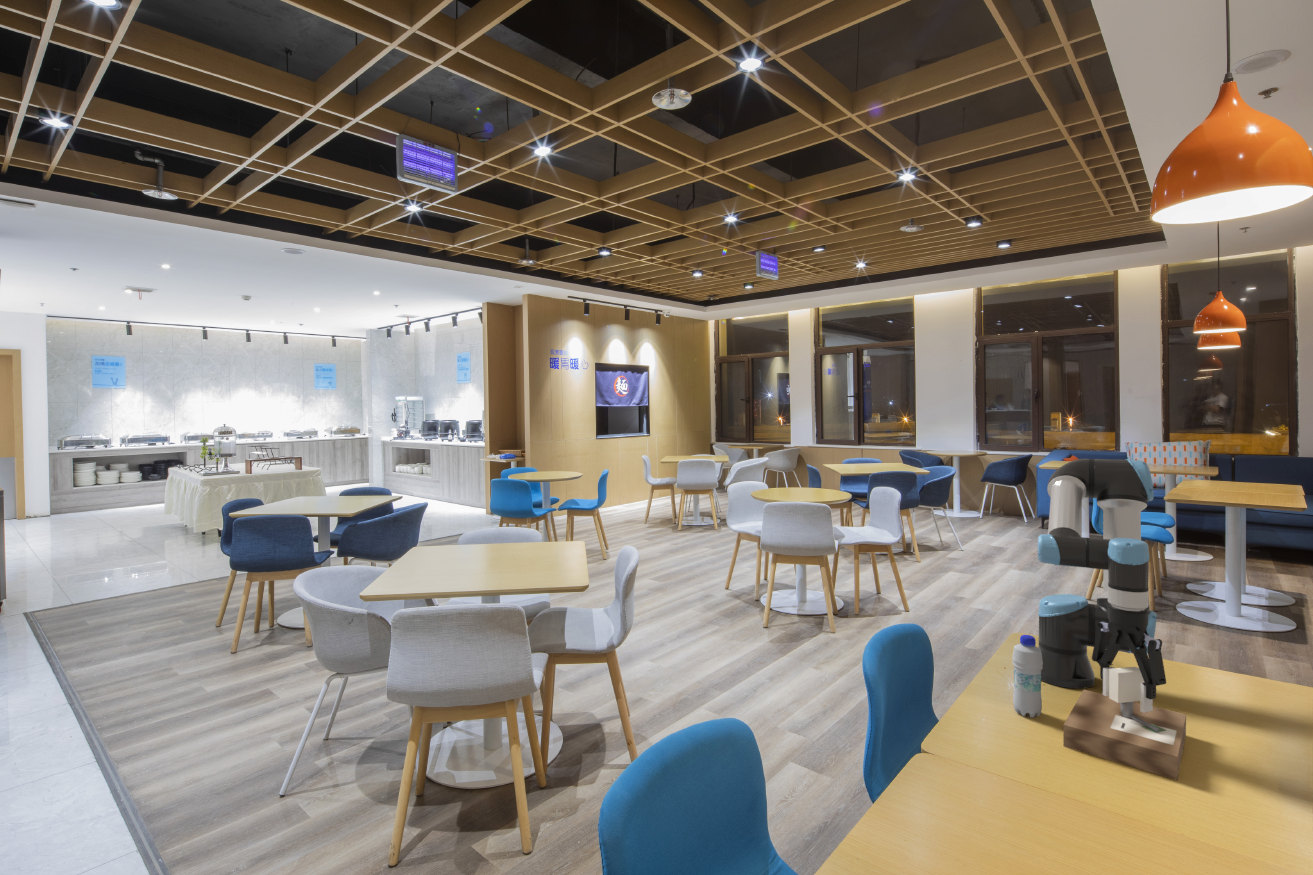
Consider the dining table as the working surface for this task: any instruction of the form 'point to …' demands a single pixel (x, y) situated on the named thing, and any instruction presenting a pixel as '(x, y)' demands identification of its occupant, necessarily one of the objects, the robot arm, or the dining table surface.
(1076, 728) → the wooden box with sign
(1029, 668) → the bottle
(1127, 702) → the white box with rod
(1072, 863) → the dining table surface
